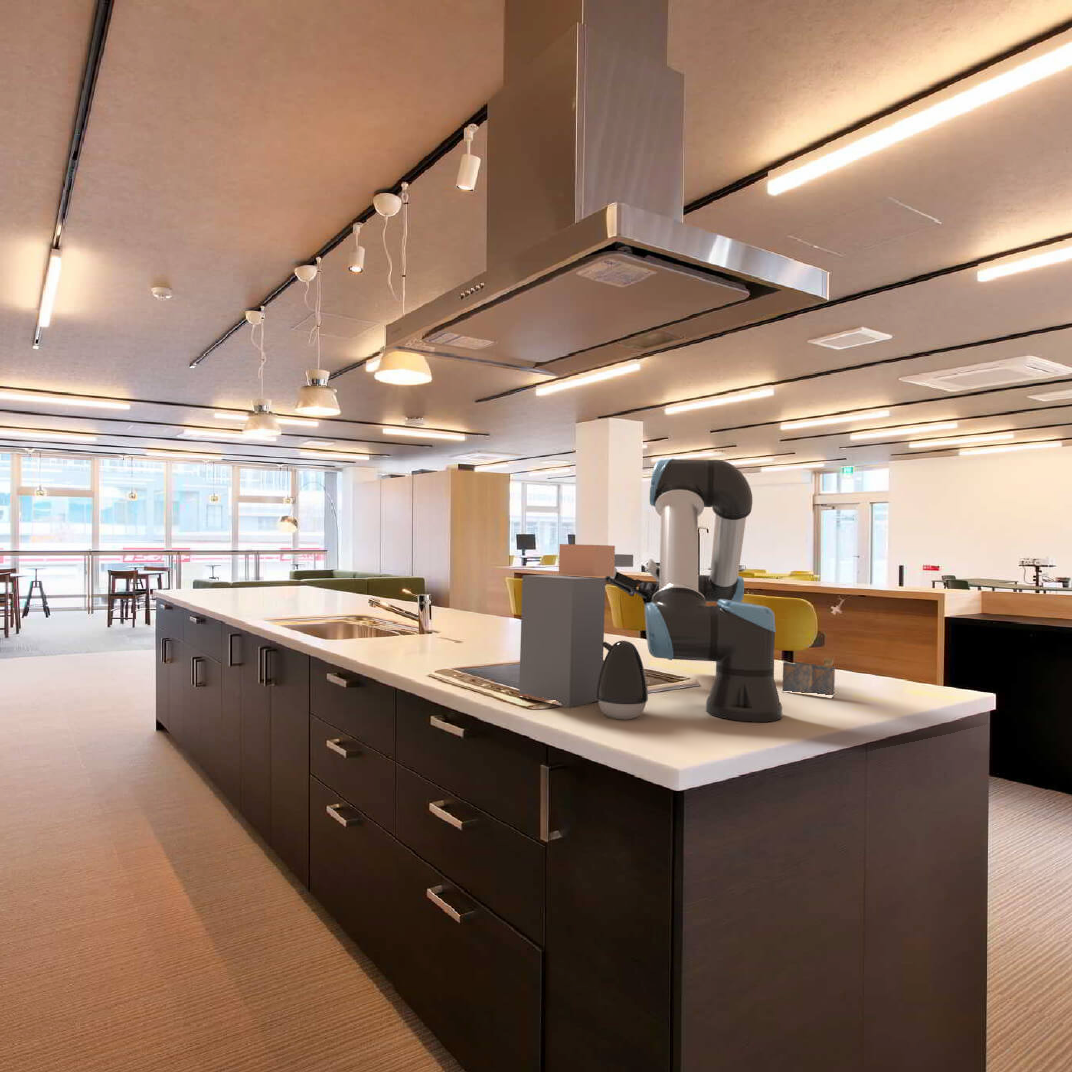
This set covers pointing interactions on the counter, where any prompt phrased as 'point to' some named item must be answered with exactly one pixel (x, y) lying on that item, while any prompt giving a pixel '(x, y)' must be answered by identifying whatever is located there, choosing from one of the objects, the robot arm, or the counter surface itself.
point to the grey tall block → (562, 637)
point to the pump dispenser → (622, 682)
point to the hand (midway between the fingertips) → (625, 562)
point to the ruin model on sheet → (809, 677)
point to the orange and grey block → (591, 560)
